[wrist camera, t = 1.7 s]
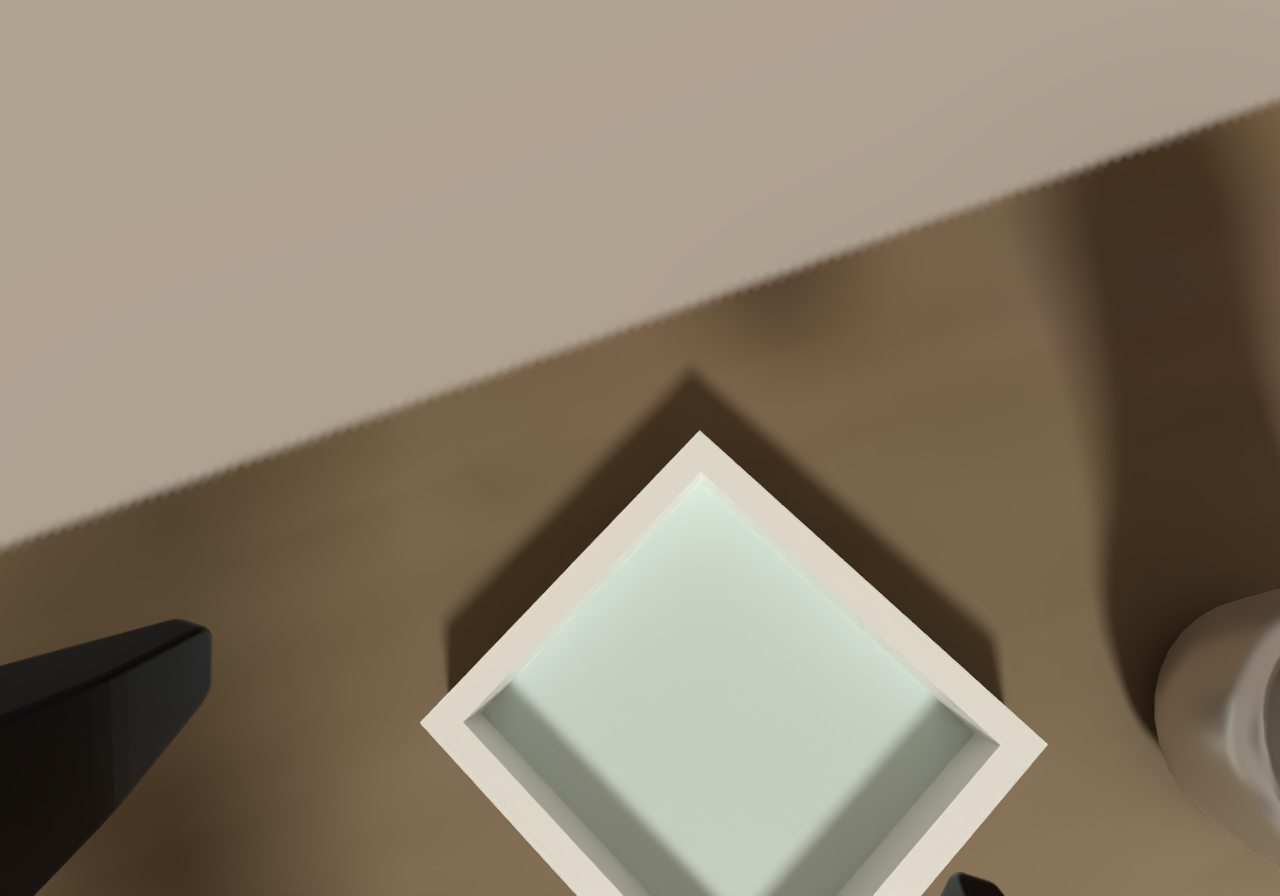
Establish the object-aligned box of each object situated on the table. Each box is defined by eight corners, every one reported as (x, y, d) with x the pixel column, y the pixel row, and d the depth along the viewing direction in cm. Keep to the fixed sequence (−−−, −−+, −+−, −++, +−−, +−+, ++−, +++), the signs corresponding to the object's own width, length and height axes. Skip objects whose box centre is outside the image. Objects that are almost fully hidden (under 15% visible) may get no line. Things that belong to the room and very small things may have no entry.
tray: (1008, 729, 21) (1047, 744, 19) (748, 1036, 20) (755, 1091, 18) (698, 448, 23) (699, 430, 21) (448, 711, 22) (419, 722, 20)
